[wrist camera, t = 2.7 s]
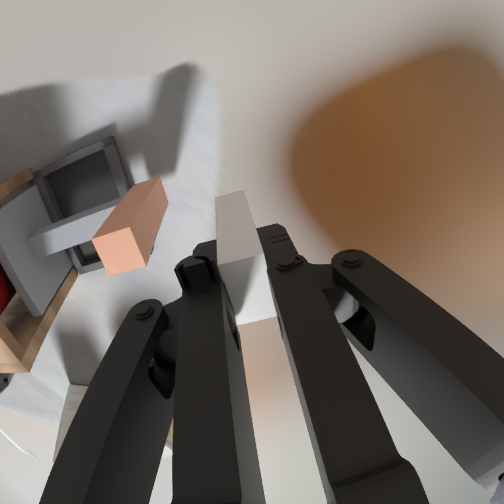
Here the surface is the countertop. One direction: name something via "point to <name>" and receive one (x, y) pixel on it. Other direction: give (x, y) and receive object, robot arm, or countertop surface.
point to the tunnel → (26, 312)
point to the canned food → (5, 290)
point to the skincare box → (69, 412)
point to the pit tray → (83, 190)
